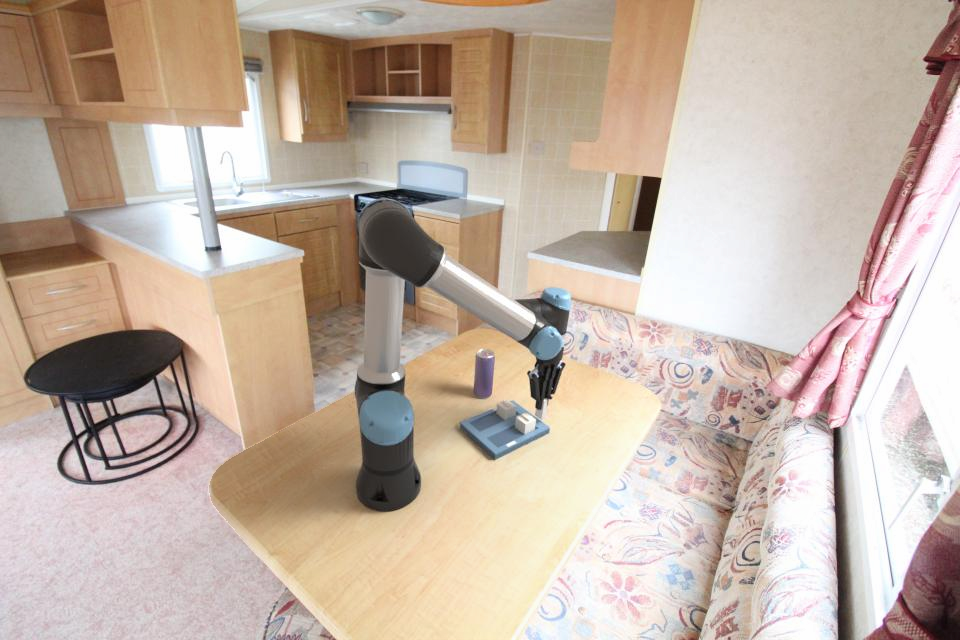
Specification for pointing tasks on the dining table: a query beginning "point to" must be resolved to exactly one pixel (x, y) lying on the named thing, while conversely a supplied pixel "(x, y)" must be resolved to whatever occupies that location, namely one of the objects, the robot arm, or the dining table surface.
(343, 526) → the dining table surface
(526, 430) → the tab near
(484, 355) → the beverage can
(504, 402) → the tab far
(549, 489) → the dining table surface
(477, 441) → the switch bank
